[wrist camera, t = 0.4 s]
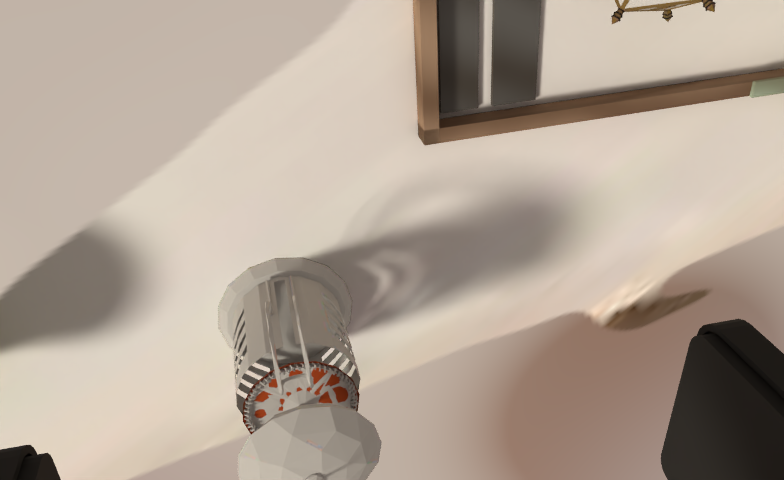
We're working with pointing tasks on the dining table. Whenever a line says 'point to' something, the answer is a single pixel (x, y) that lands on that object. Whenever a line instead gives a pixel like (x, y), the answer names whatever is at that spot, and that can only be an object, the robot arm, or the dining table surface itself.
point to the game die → (656, 6)
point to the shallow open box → (526, 76)
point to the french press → (296, 374)
